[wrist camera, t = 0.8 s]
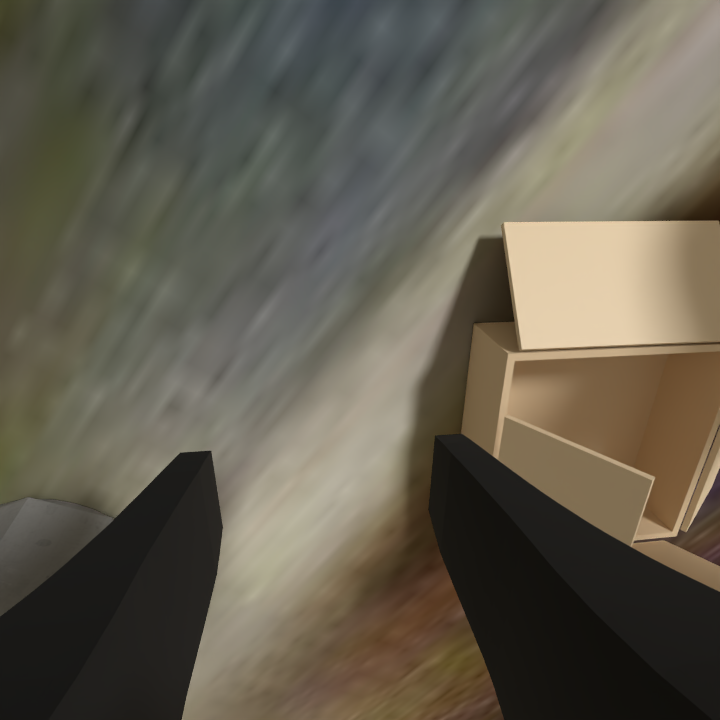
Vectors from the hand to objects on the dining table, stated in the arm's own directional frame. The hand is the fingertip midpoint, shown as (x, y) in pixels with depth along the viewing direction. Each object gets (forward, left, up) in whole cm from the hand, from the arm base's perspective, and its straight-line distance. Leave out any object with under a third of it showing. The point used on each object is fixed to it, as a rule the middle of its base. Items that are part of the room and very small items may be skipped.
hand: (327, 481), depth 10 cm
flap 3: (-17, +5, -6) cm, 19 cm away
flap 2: (-7, +5, -6) cm, 11 cm away
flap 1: (-12, 0, -6) cm, 14 cm away
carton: (-12, +5, -10) cm, 16 cm away
